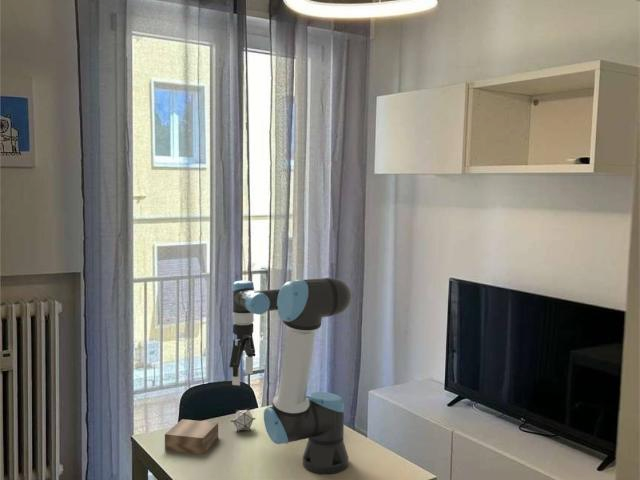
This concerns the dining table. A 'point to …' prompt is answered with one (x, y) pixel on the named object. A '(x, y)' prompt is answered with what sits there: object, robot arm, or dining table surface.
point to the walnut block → (191, 436)
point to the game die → (242, 420)
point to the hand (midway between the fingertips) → (242, 379)
